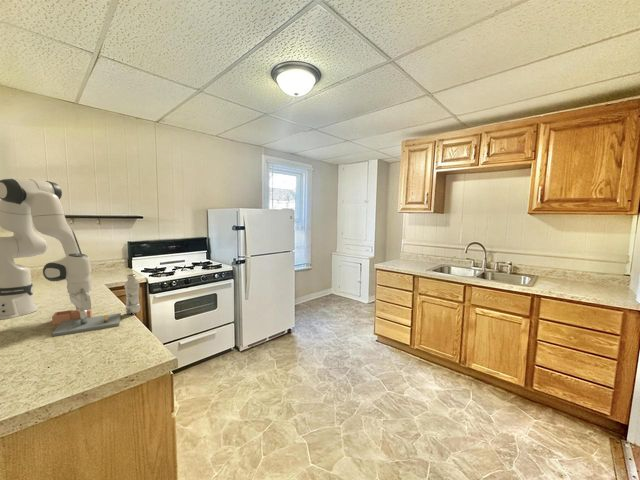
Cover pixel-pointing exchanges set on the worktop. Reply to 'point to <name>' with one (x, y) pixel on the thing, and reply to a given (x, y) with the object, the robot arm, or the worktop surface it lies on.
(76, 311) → the orange hollow block
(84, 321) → the post
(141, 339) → the worktop surface
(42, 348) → the worktop surface
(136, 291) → the plastic bottle
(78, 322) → the board
